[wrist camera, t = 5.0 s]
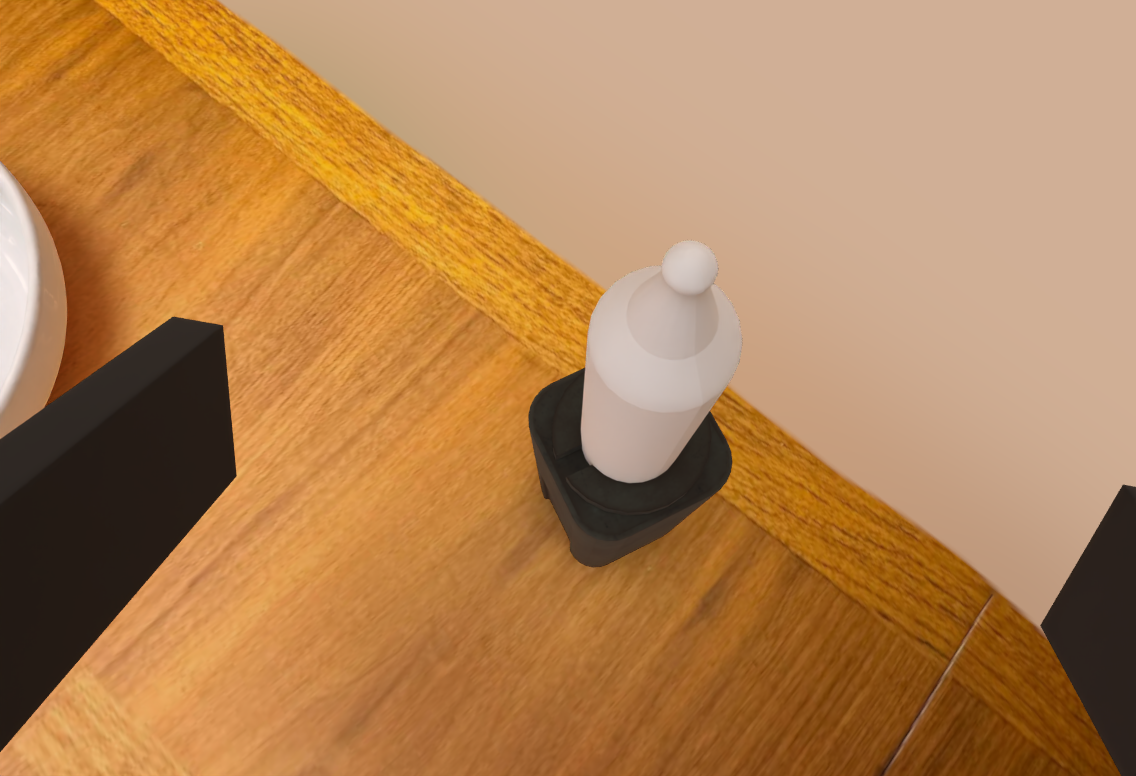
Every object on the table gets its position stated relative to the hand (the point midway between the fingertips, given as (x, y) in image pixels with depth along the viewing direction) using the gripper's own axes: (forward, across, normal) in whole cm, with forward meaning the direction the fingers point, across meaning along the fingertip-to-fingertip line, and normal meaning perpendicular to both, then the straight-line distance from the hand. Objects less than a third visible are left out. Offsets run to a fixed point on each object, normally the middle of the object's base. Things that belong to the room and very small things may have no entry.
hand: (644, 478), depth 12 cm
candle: (+19, 0, -15) cm, 24 cm away
